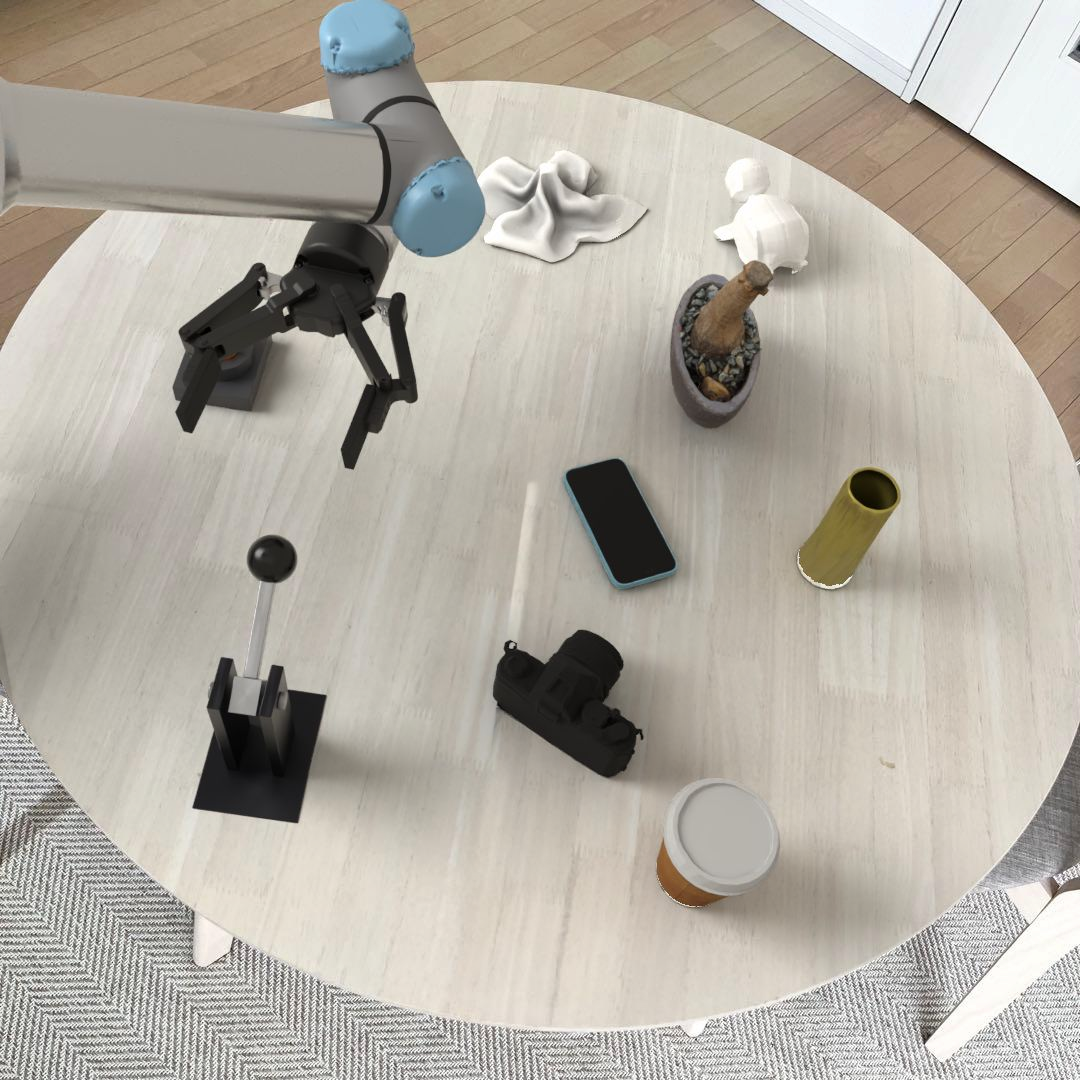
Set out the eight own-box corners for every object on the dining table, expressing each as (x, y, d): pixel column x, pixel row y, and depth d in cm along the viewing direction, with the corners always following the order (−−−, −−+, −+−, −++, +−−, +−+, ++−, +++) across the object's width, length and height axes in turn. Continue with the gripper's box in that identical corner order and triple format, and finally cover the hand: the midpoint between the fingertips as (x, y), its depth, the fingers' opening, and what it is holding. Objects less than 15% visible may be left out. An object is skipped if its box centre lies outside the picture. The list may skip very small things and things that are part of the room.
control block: (175, 400, 120) (169, 376, 116) (200, 330, 125) (195, 304, 121) (250, 412, 120) (247, 388, 116) (272, 341, 125) (269, 316, 122)
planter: (697, 468, 123) (747, 346, 106) (603, 365, 129) (637, 234, 112) (794, 412, 129) (856, 288, 112) (701, 316, 135) (746, 185, 118)
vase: (783, 560, 118) (829, 483, 106) (821, 530, 121) (870, 452, 109) (827, 601, 116) (879, 527, 104) (864, 569, 119) (919, 494, 107)
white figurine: (794, 281, 144) (751, 174, 145) (827, 252, 136) (782, 140, 137) (737, 297, 141) (694, 188, 143) (767, 269, 133) (722, 153, 135)
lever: (256, 534, 93) (247, 528, 89) (304, 541, 93) (297, 535, 89) (224, 708, 91) (213, 710, 87) (274, 716, 92) (265, 718, 88)
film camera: (664, 713, 107) (686, 673, 100) (610, 792, 103) (629, 757, 95) (534, 625, 111) (545, 580, 103) (475, 698, 106) (483, 657, 98)
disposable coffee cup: (631, 915, 97) (661, 878, 87) (643, 809, 102) (672, 762, 92) (740, 936, 97) (782, 902, 87) (746, 829, 102) (787, 784, 92)
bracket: (229, 686, 104) (208, 610, 91) (326, 700, 104) (319, 627, 92) (193, 812, 97) (166, 750, 85) (298, 827, 98) (285, 767, 85)
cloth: (497, 273, 135) (501, 235, 129) (449, 169, 143) (451, 128, 138) (666, 242, 141) (677, 204, 135) (610, 144, 149) (619, 104, 144)
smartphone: (622, 455, 122) (681, 569, 114) (620, 461, 122) (679, 574, 115) (560, 471, 119) (617, 588, 112) (559, 477, 120) (615, 593, 113)
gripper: (487, 303, 102) (419, 500, 92) (225, 248, 104) (130, 434, 94) (486, 244, 95) (413, 448, 85) (206, 186, 97) (102, 379, 87)
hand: (264, 441), depth 89 cm, fingers open, 13 cm apart
